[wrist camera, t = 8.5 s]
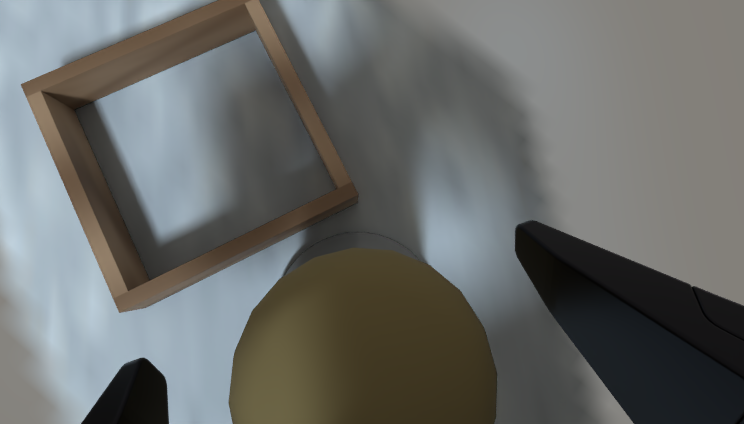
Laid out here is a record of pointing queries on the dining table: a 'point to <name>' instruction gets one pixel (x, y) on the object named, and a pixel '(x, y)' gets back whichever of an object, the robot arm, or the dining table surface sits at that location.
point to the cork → (363, 347)
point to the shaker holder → (130, 65)
